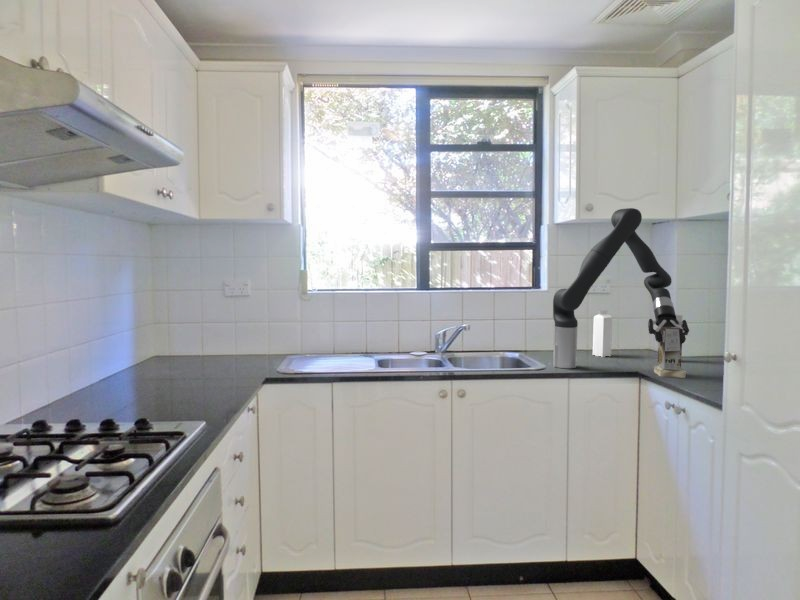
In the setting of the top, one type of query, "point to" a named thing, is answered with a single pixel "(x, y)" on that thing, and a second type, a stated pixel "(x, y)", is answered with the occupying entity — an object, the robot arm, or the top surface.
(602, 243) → the robot arm
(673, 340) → the coffee box
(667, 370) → the podium
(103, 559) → the top surface
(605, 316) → the milk
